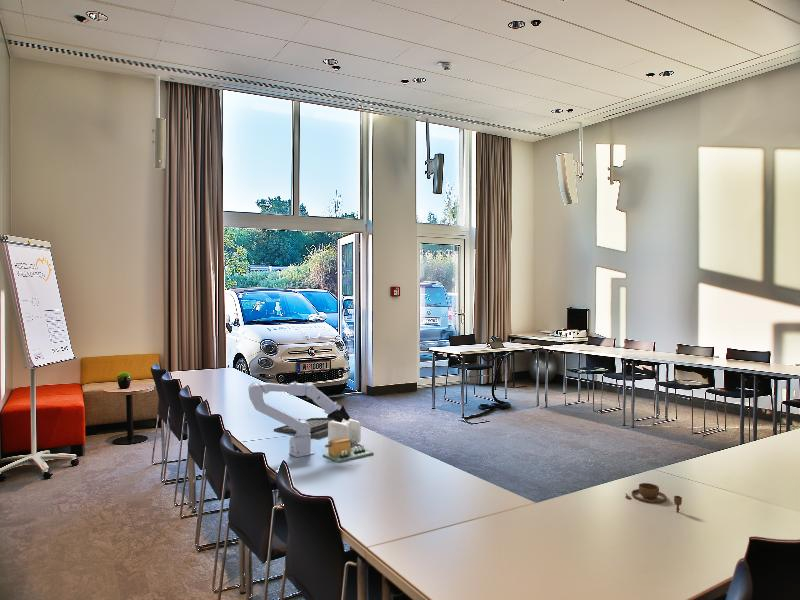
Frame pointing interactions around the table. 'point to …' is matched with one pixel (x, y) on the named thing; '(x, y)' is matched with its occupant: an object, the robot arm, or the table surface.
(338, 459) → the board
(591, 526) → the table surface
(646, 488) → the place setting
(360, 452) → the led bulb strip
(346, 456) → the twin bulb fixture
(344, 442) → the block
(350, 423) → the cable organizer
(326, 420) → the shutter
